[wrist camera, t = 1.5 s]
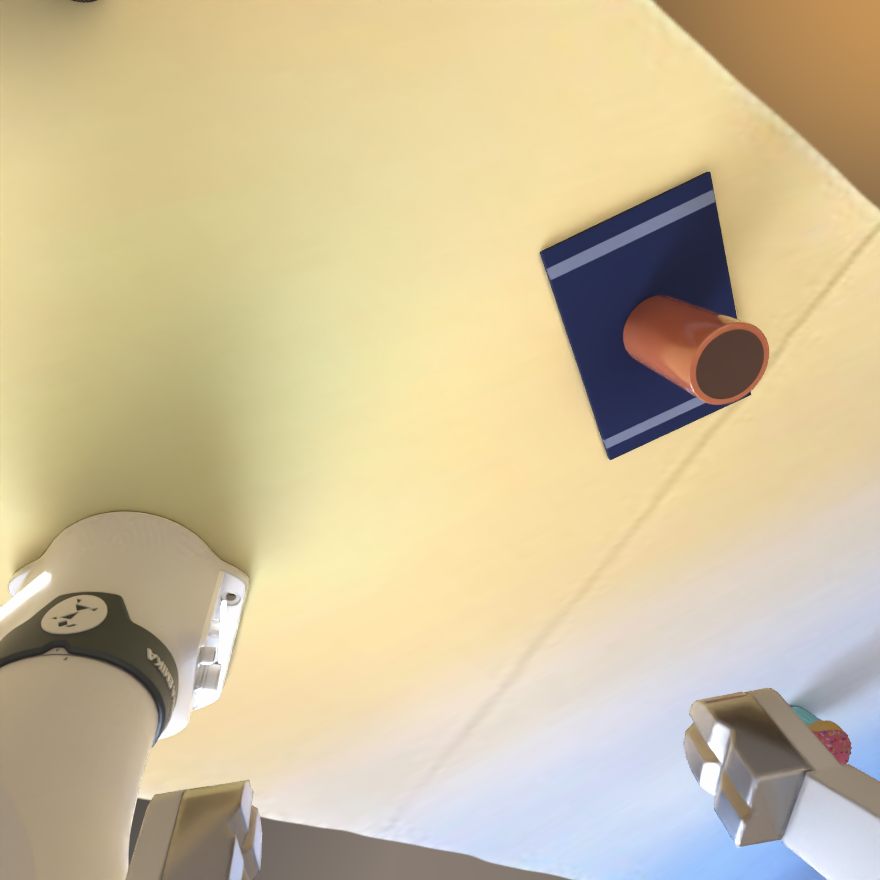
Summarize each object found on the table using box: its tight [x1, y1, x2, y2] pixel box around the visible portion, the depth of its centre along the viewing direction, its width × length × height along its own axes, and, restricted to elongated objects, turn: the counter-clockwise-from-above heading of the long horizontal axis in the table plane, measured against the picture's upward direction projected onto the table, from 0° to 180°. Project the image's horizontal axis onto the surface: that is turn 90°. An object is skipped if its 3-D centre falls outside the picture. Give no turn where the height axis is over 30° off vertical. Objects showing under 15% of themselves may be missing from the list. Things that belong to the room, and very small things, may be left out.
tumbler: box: [623, 295, 769, 405], centre depth 43 cm, size 6×6×10 cm
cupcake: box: [791, 706, 852, 765], centre depth 68 cm, size 9×8×12 cm
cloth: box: [540, 172, 751, 460], centre depth 48 cm, size 20×14×1 cm
